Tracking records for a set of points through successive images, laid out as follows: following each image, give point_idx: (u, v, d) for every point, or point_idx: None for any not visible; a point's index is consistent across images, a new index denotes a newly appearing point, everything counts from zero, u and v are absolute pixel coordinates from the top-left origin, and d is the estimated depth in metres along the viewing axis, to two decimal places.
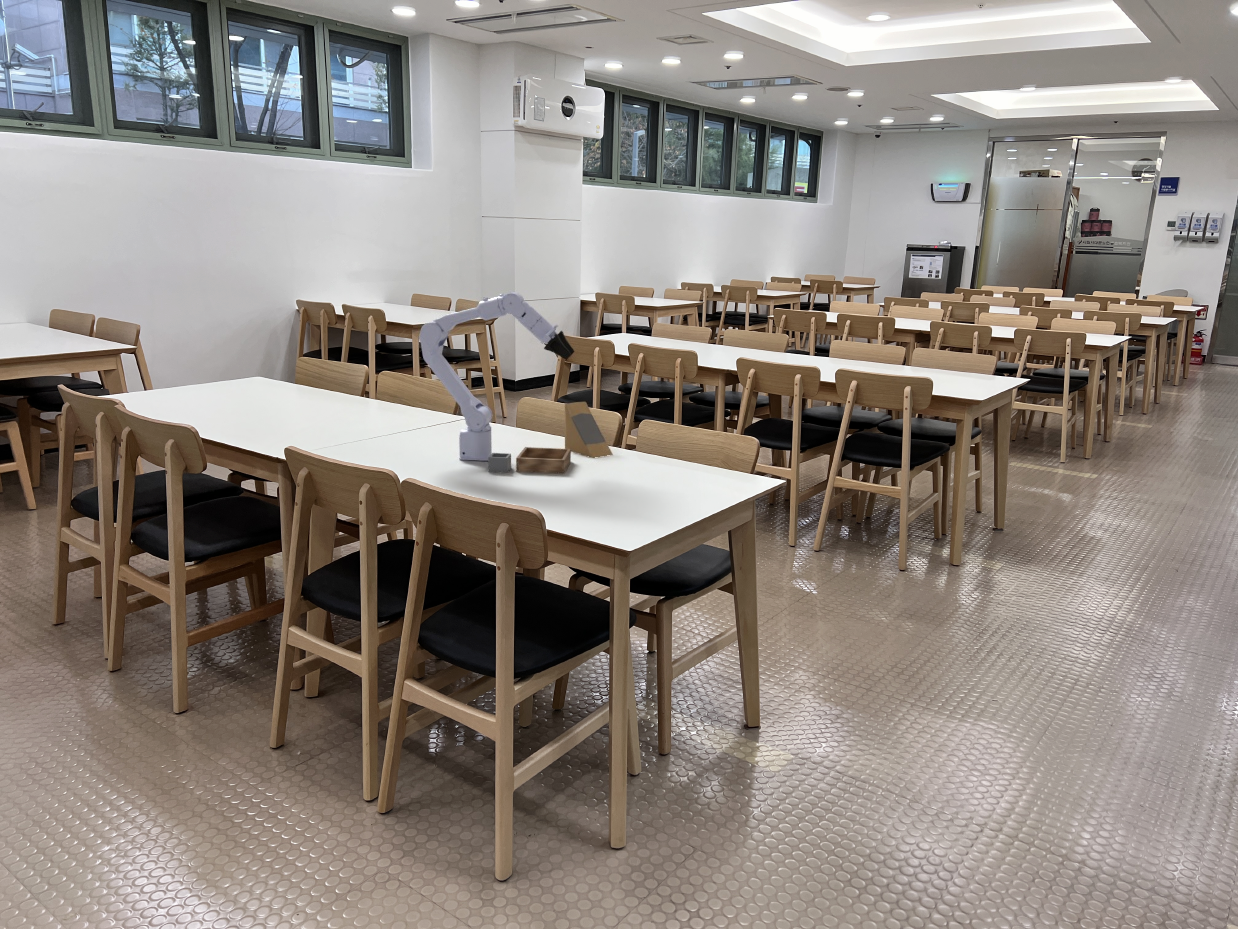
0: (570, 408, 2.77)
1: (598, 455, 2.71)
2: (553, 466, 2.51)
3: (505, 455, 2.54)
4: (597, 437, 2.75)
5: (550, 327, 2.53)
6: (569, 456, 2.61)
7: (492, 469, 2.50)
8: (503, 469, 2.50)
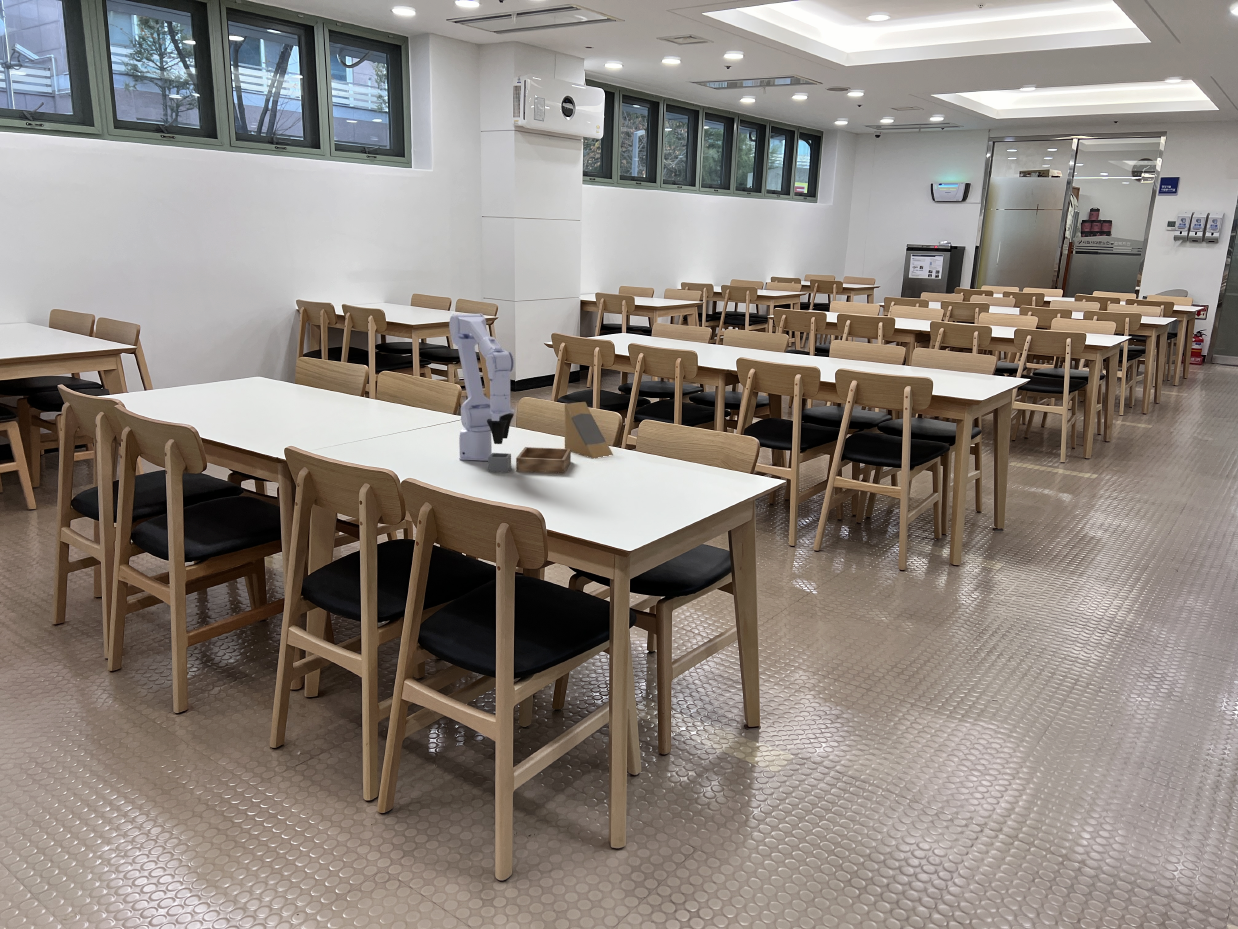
0: (569, 408, 2.76)
1: (599, 455, 2.71)
2: (553, 466, 2.51)
3: (505, 455, 2.54)
4: (598, 438, 2.75)
5: (507, 408, 2.47)
6: (569, 456, 2.61)
7: (492, 469, 2.50)
8: (503, 469, 2.50)
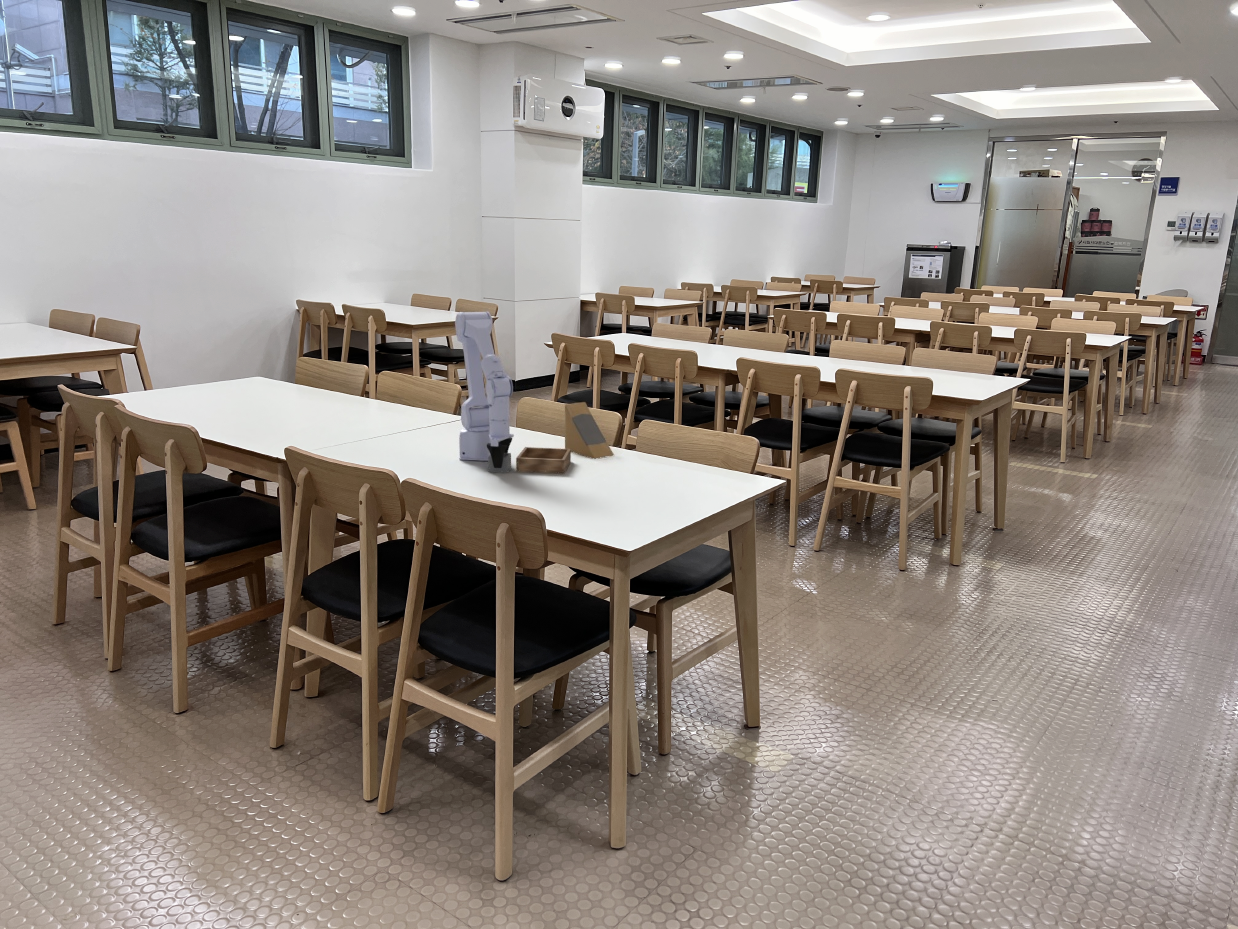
0: (570, 408, 2.76)
1: (600, 456, 2.71)
2: (553, 466, 2.51)
3: (505, 454, 2.54)
4: (598, 438, 2.75)
5: (506, 433, 2.49)
6: (569, 456, 2.61)
7: (492, 469, 2.50)
8: (503, 468, 2.50)
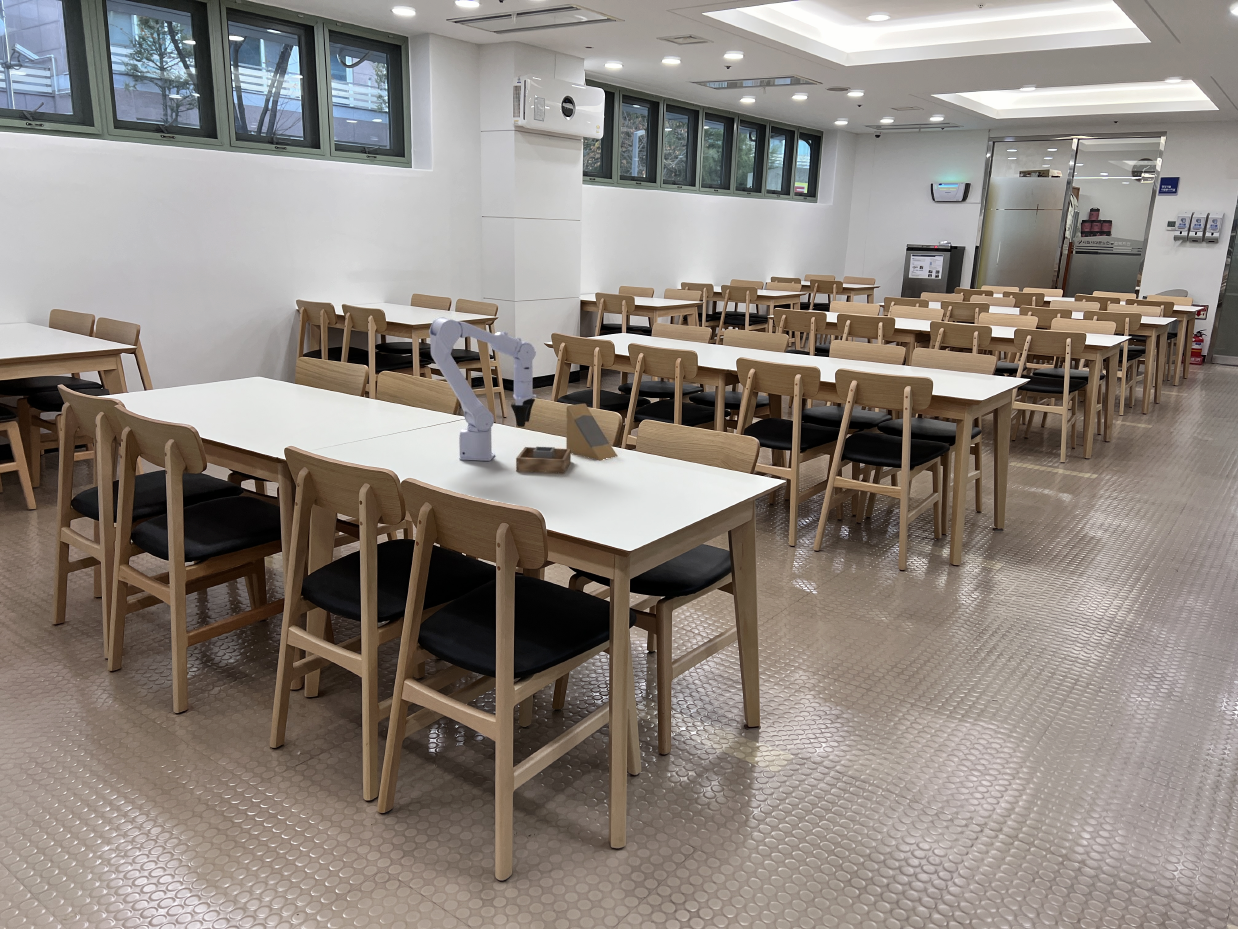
0: (572, 410, 2.73)
1: (604, 457, 2.69)
2: (553, 466, 2.51)
3: (549, 449, 2.59)
4: (601, 439, 2.73)
5: (529, 394, 2.67)
6: (569, 456, 2.61)
7: None
8: None
